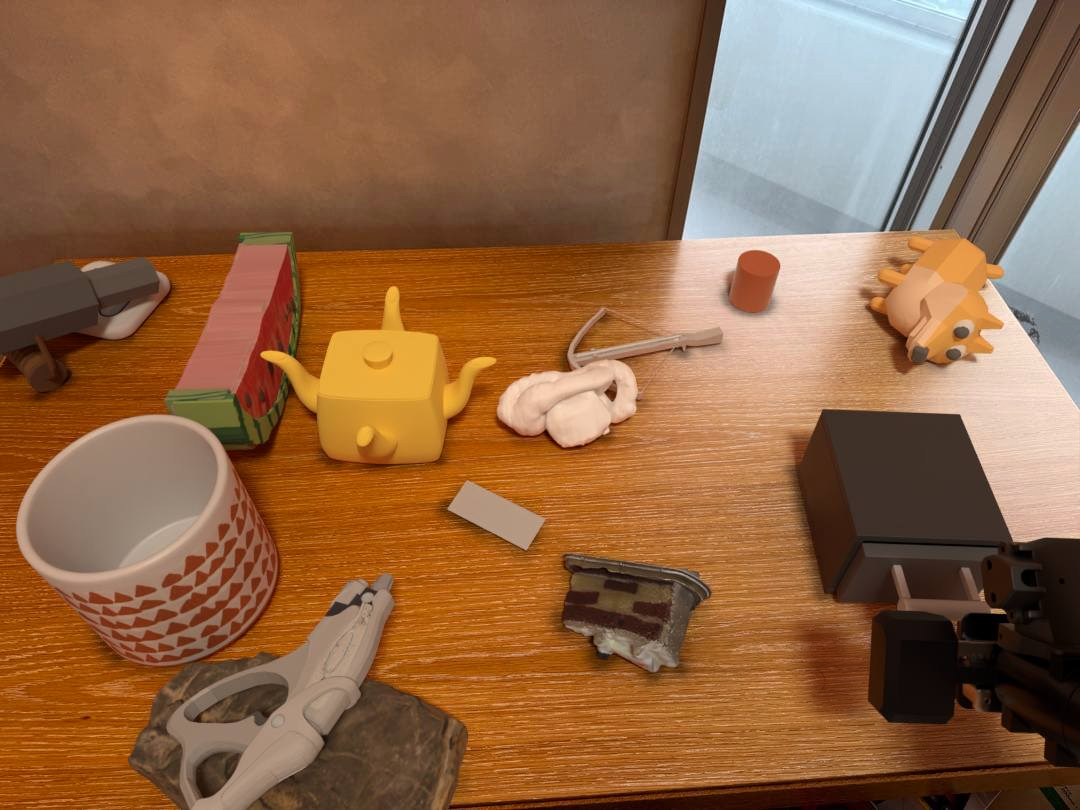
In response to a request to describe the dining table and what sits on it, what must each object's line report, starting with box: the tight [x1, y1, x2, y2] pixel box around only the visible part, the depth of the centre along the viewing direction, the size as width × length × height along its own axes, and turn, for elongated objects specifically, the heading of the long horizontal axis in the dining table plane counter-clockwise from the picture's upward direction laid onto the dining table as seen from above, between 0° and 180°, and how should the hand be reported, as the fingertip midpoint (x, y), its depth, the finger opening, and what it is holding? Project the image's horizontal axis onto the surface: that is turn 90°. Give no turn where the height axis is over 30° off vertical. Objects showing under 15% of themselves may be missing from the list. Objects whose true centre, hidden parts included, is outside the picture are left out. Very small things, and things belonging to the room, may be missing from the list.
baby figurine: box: [495, 359, 639, 448], centre depth 76 cm, size 9×12×8 cm
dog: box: [869, 236, 1005, 365], centre depth 86 cm, size 8×20×13 cm
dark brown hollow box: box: [796, 408, 1014, 595], centre depth 68 cm, size 12×11×8 cm
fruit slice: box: [163, 231, 302, 451], centre depth 76 cm, size 26×6×10 cm, turn 3°
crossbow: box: [566, 306, 724, 401], centre depth 84 cm, size 16×13×2 cm
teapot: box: [260, 285, 497, 465], centre depth 73 cm, size 15×14×10 cm
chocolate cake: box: [561, 551, 714, 673], centre depth 63 cm, size 10×7×12 cm
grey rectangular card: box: [446, 479, 547, 551], centre depth 70 cm, size 3×8×1 cm, turn 59°
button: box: [74, 260, 171, 341], centre depth 87 cm, size 10×2×10 cm
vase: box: [15, 413, 279, 668], centre depth 60 cm, size 14×14×13 cm
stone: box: [127, 651, 469, 810], centre depth 55 cm, size 13×21×5 cm, turn 61°
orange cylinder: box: [728, 249, 781, 313], centre depth 89 cm, size 4×4×5 cm
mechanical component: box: [0, 256, 160, 393], centre depth 80 cm, size 10×18×10 cm, turn 139°
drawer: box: [836, 541, 998, 622], centre depth 65 cm, size 16×10×7 cm, turn 179°
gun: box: [166, 572, 396, 810], centre depth 54 cm, size 3×19×10 cm
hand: (961, 628), depth 58 cm, fingers closed
